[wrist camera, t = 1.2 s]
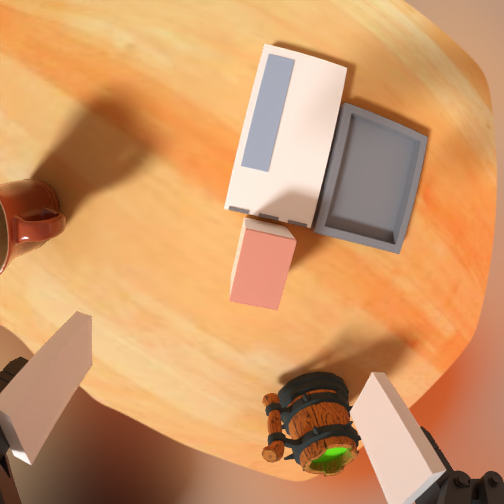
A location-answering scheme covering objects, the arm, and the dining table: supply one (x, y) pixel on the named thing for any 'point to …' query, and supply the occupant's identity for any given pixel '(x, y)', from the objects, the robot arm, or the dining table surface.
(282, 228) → the block
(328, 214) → the tray
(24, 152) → the dining table surface
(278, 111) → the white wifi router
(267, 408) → the mug
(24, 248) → the mug
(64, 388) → the robot arm
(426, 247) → the dining table surface
